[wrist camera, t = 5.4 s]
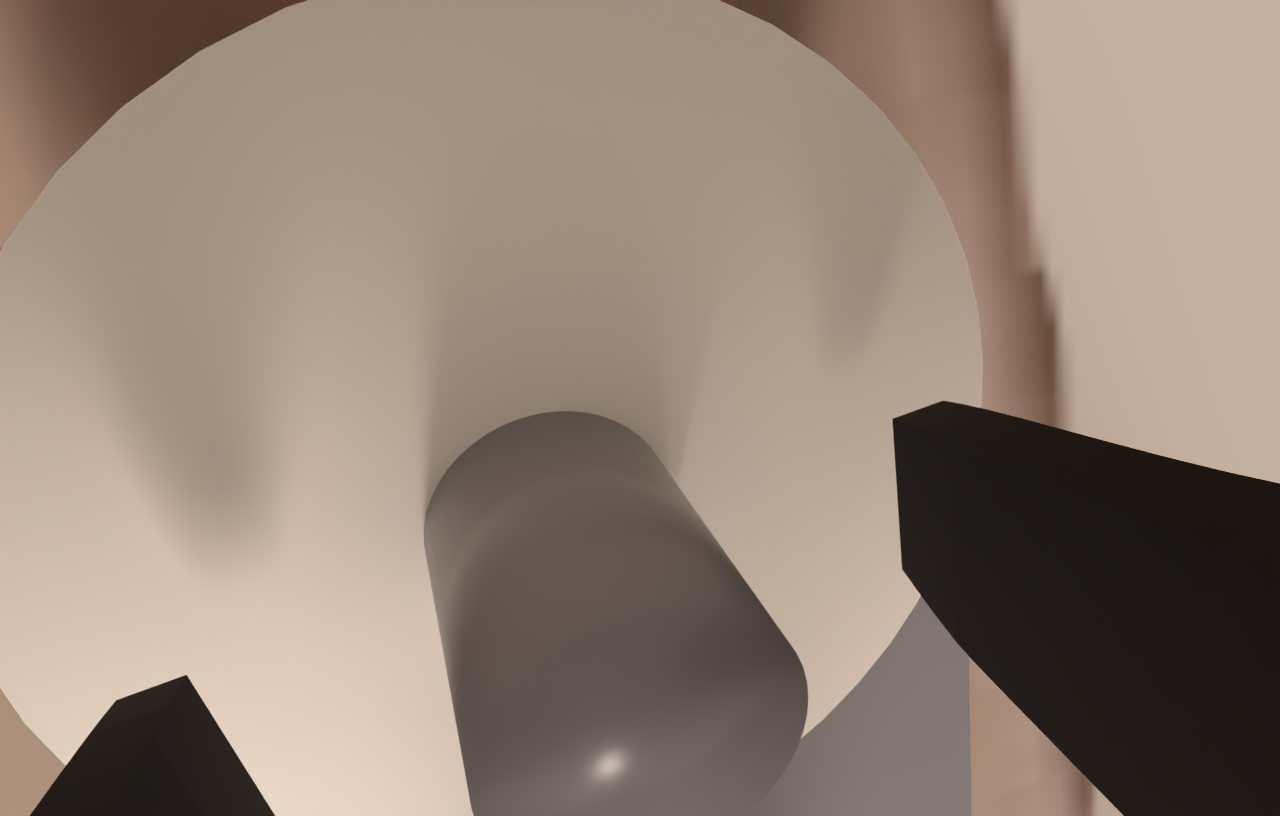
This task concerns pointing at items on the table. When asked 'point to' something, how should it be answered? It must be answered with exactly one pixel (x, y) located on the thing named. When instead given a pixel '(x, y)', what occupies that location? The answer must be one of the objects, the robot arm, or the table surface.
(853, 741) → the mat
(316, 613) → the lid
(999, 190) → the table surface
